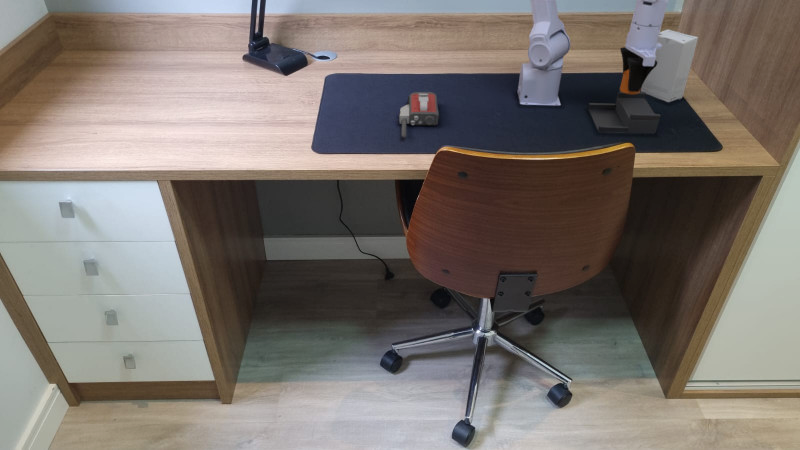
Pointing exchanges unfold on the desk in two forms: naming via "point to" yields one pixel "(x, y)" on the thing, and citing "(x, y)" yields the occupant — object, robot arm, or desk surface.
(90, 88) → the desk surface
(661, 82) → the cosmetic box
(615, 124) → the rack
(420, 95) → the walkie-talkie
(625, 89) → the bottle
